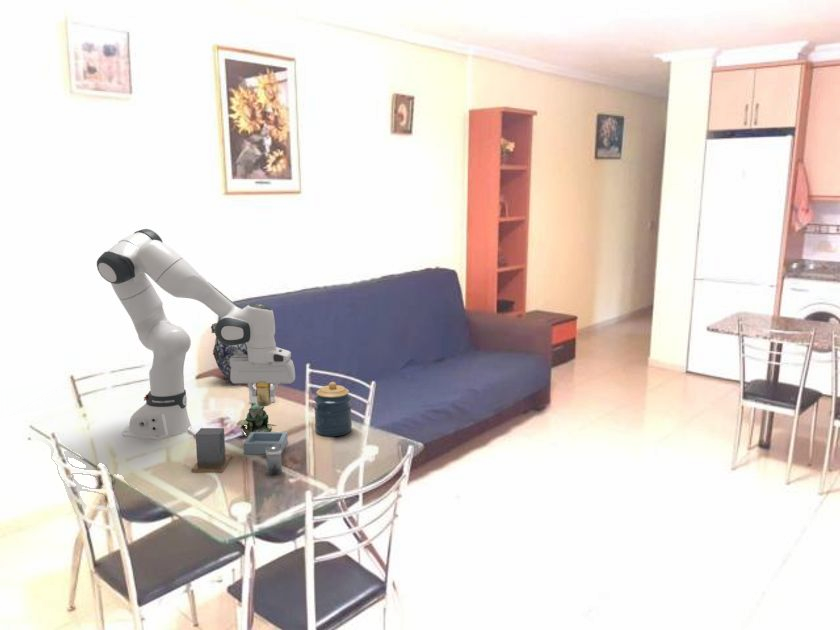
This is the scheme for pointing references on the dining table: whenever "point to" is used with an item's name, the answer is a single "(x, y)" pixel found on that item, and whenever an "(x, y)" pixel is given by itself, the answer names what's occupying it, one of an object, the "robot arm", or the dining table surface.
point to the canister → (332, 410)
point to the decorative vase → (226, 356)
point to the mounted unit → (211, 450)
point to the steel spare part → (273, 459)
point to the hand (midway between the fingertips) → (263, 395)
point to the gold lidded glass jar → (263, 393)
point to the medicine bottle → (254, 398)
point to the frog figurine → (256, 420)
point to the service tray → (264, 441)
